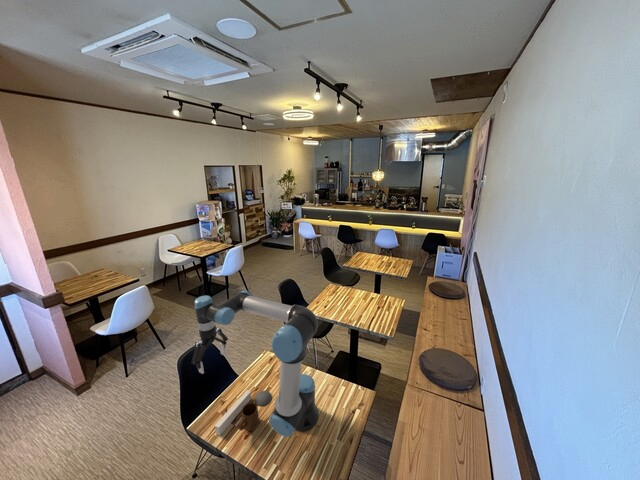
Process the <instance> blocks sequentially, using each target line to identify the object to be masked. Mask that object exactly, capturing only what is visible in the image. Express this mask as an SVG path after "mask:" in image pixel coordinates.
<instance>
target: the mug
mask: <svg viewBox="0 0 640 480" xmlns="http://www.w3.org/2000/svg"><path fill="white" fill-rule="evenodd" d="M241 417H242V418H241V420H240V422H239V423H238V429H239V431H243V430H245V431H253V430H254V429H255V430H256V428H257V427H258V425H259V422H260V419H259V409H258V405H256V404H255V402H248V403H247V404H246V405H245V406H244V407H243V409H242V410H241Z"/></svg>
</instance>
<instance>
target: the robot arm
mask: <svg viewBox="0 0 640 480" xmlns="http://www.w3.org/2000/svg"><path fill="white" fill-rule="evenodd" d="M194 311H195V315H196V321H197V326H198V333H199V337H200V341H199V342H197V341H196V342H195V343H194V350H193V354H192V359H191V364H192V365H194V366H195V367H196V369H197V370H198V372H199V374H202V375H203V374H205V371H204V365H203V361H202V359H203V357H204V354H205V352H206V350H207V349H208V347H209V346H210V345H211V344H213V343H214V342H215V341H217V342H218V343H219V351H220V352H219V353H220V355H222V356H226V345H227V343H228V342H227V341H228V340H229V337H227V336H226V335H225V333H224V332H223V331H222V328H220V327H217V326H216V324H218V325H223V326H228V325H230V324H231V323H232V322H233V320H235V319H234V318H235V315H236V314H237V313H238V312H240V311H243V312H247V313H251V314H254V315H257V316H261V317H265V318H269V319H273V320H276V321H279V322H283V323H284V324H283V325H282V326H281V327H280V328H278V330H277V331H276V332H275V334H274V335H273V337H272V339H271V349H272V352H274V355H275V357H276V358H277V359H278V360H279V361H280V362H279V363H280V368H279V381H278V382H279V386H278V395H277V396H276V397H275V401H274V410H273V412H272V413H271V414H270V416H269V418H268V422H269V425H270V426H271V428H272V429H273V430H274V431H275V432H276V433H277V434H278V435H280V436H282V437H285V438H286V437H287V438H289V437H291V436H292V435H293V434H294V432H295V431H298V432H307V431H310V430H312V429H313V428H315V426H317V423H318V421H319V409H318V407H317V405H316V395H315V394H316V384H315V379H314V378H313V377H312V376H311V375H309V374H305V373H302V364H303V362H304V360H305V358H307V357H306V356H307V352H308V351H307V349H308V344H309V343H310V341H311V340H312V338H313V337H315V335H316V333H317V331H318V328H319V327H318V326H319V323H318V318H317V316H316V315H315V313H314V312H313V311H312V310H311V309H310V308H308V307H305V306H303V305H299V304H293V305H290V304H285V303H281V302H278V301H273V300H269V299H264V298H260V297H256V296H253V295H252V293H251V292H249V291H248V290H241V291H240V292H238V293H236V294H235V295H233V296H232V297H230V298H228V299H227V300H226V301H224V302H222V303H220V304H217V303H214V302H213V299H212V297H211V296H210V295H201V296H198V297H197V298H196V299H195V300H194ZM217 335H219V336H220V337H221V338H219V337H217Z"/></svg>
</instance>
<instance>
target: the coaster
mask: <svg viewBox="0 0 640 480" xmlns="http://www.w3.org/2000/svg"><path fill="white" fill-rule="evenodd" d="M271 400H272V394H271V392H270V391H268V390H260V391H259V392H257V393H256V394H255V395H254V403H255V404H256V405H257V407H264V406H266V405H268V404H270V402H271Z"/></svg>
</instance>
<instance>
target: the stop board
mask: <svg viewBox="0 0 640 480" xmlns="http://www.w3.org/2000/svg"><path fill="white" fill-rule="evenodd" d="M251 400H252V393H251V390H248V389H246V390H245V392H243V394H242V395H241V396H240V397H239V398H238V399H237V400H236V402H235V403H234V404H233V405H232V406H231V407H230V408H229V409H228V410H227V411H226V412H225V414H224V415H223V416H222V417H221V418H219V420H218V421H217V422H216V424H214V430H215V434H216V435H218V436H222V434H223V433H224V432H225V430H227V428H228V427H229V426H230V424H231V423H232V422H233V421H234V420H235V419H236V417H237V416H238V415H239V414H240V413H242V409H243V407H244V406H245V405H246V404H248V403H250V401H251Z"/></svg>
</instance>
